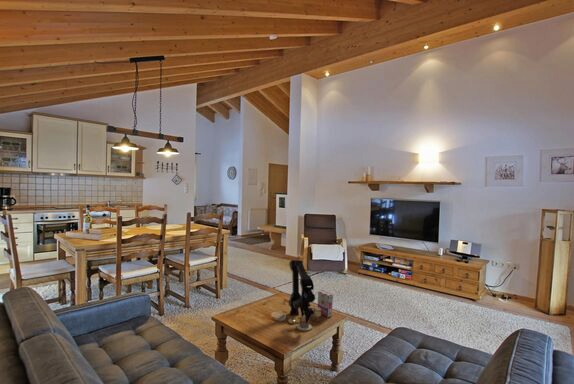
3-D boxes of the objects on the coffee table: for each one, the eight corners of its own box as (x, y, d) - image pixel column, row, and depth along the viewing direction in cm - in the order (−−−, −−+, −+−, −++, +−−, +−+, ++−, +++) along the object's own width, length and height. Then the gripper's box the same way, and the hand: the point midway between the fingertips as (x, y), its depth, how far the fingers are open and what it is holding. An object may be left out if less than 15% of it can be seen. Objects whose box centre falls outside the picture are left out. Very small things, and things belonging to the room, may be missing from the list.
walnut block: (299, 324, 204) (299, 317, 204) (306, 323, 205) (306, 316, 205) (301, 328, 199) (301, 320, 199) (308, 327, 201) (309, 320, 200)
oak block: (313, 312, 215) (313, 307, 215) (318, 312, 216) (318, 306, 216) (315, 315, 211) (315, 309, 211) (320, 314, 212) (320, 309, 212)
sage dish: (297, 323, 208) (297, 321, 208) (311, 324, 207) (311, 323, 207) (296, 330, 198) (296, 329, 198) (311, 331, 197) (311, 330, 197)
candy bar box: (332, 316, 221) (333, 294, 220) (327, 318, 218) (328, 295, 217) (321, 310, 230) (322, 289, 229) (316, 312, 227) (317, 290, 226)
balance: (289, 324, 206) (289, 317, 205) (287, 320, 211) (287, 314, 211) (321, 321, 212) (322, 315, 211) (319, 318, 217) (319, 311, 217)
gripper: (290, 291, 208) (289, 313, 209) (297, 302, 190) (296, 326, 191) (305, 291, 211) (304, 312, 212) (314, 301, 193) (313, 325, 194)
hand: (304, 319), depth 202 cm, fingers open, 9 cm apart
